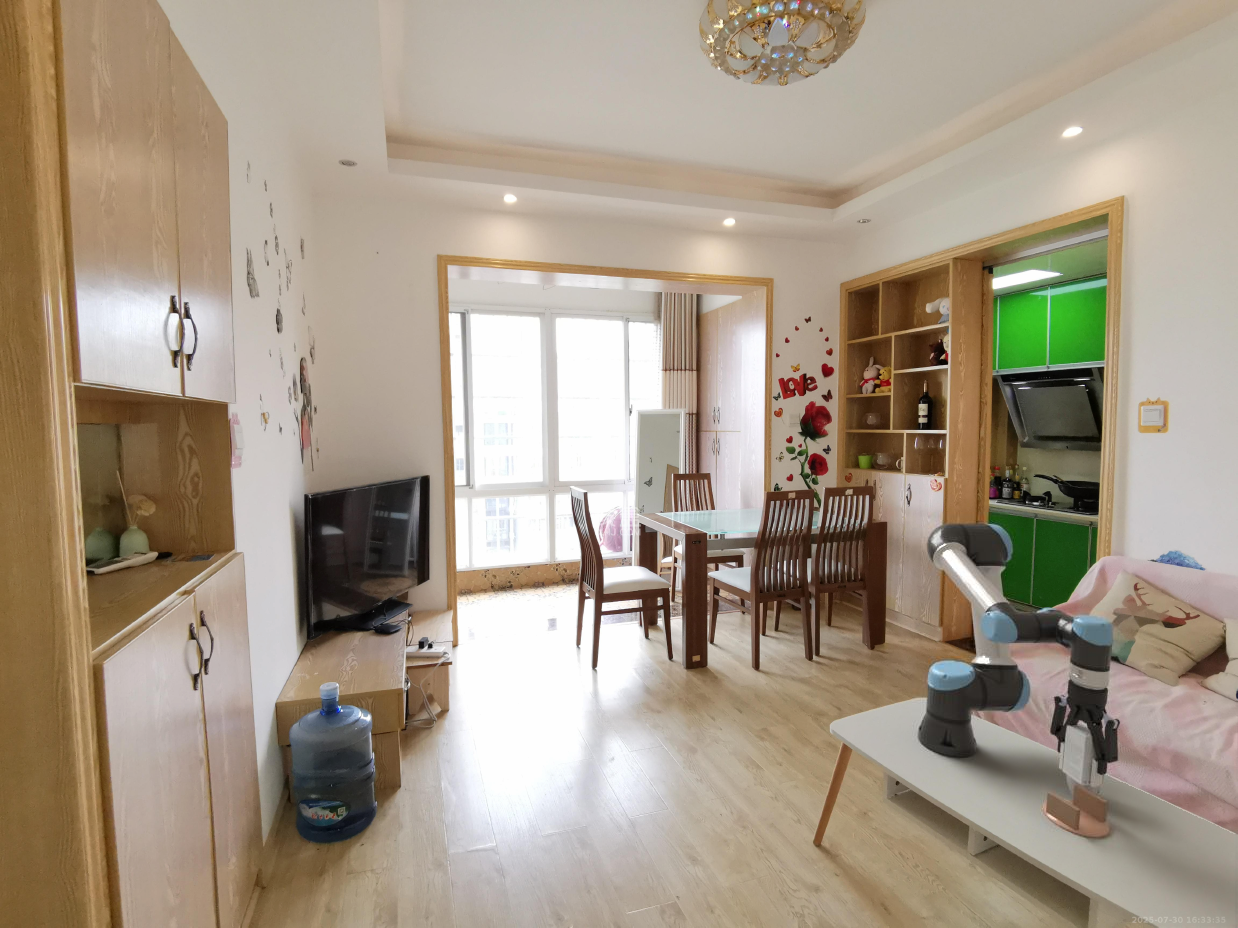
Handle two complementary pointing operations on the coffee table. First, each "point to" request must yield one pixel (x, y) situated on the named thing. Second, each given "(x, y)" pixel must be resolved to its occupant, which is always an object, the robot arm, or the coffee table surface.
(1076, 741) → the skincare box
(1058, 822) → the napkin holder
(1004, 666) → the robot arm
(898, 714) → the coffee table surface
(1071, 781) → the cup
